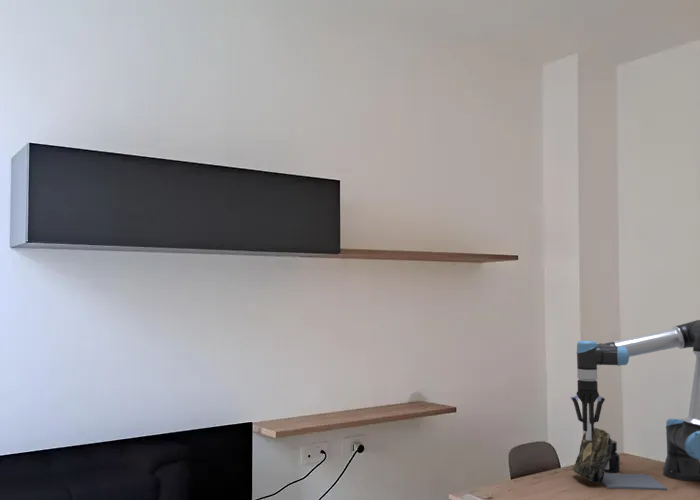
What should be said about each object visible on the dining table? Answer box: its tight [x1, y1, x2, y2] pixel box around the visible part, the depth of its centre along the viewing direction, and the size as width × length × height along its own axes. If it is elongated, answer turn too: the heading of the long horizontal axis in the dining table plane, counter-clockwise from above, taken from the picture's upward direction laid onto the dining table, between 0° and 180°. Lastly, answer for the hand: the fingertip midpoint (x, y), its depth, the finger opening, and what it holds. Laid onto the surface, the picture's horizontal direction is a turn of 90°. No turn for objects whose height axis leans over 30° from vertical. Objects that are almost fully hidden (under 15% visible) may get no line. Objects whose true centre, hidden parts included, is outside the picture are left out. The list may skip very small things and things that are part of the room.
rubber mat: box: [601, 472, 668, 491], centre depth 251 cm, size 22×19×1 cm
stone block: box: [572, 427, 613, 485], centre depth 253 cm, size 18×9×20 cm, turn 11°
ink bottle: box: [604, 439, 621, 473], centre depth 270 cm, size 10×9×12 cm
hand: (588, 439), depth 253 cm, fingers closed
